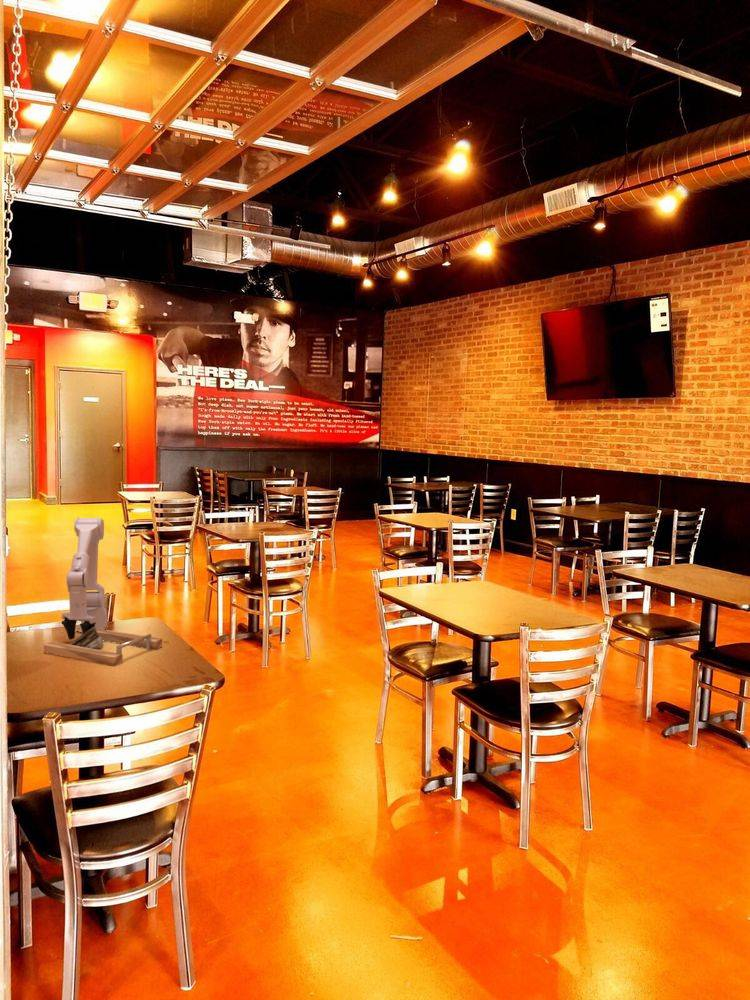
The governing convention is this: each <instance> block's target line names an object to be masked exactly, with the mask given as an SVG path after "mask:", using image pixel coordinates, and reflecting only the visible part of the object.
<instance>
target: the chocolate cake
mask: <svg viewBox="0 0 750 1000" xmlns="http://www.w3.org/2000/svg"><path fill="white" fill-rule="evenodd" d="M95 628H96V627H95V626H94V627H92V628H91V629H89V630H88V631H86V632H85V633H81V635H80V636H78V637H77V638H75V639H74V640H72V641H71V642H69V643H68V645H74V646H80V647H85V648H91V649H96V650H97V649H98V648H99V649H98V650H101V649H102V648H104V641H103V640H102V638H101V636H99V635H98V634H97V631H96V629H95ZM101 647H102V648H101ZM100 648H101V649H100Z"/></svg>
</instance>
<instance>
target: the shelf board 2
mask: <svg viewBox="0 0 750 1000" xmlns="http://www.w3.org/2000/svg"><path fill="white" fill-rule="evenodd" d="M95 629H96V631H97V634H98V635H99V636H101V638H102V640H104V641H103V642H106V641H110V642H109V643H112V642H116V643H115V644H117V643H121V644H124V643H126V642H129V641H132V640H135V639H137V638H140V637H143V636H144V635H140V634H135V633H134V634H133V633H128V632H122V631H116V630H110V629H106V630H105V629H99V628H95ZM151 640H152V649H154V650H153V651H156V650H158V649H161V648H163V638H160V637H159V638H158V637H154V636H151ZM121 644H120V645H121ZM135 646H136V648H141V647H143V648H142V649H146V648H147V639H144V640H142V641H139V642H136V643H134V644H131V647H135ZM160 647H161V648H160ZM157 648H158V649H157ZM152 649H151V650H152ZM155 649H156V650H155Z"/></svg>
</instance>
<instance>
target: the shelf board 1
mask: <svg viewBox="0 0 750 1000" xmlns="http://www.w3.org/2000/svg"><path fill="white" fill-rule="evenodd" d="M68 644H69V643H68ZM68 644H67V643H62V642H57V641H51V642H48V643H47V642H46V643H44V644H43V653H44V652H48V653H53V654H57V655H62V656H67V657H66V658H68V657H71V658H70V659H73V658H77V659H76V660H78V659H82V660H81V661H83V660H86V661H85V662H89V661H92V662H91V663H94V662H96V663H95V664H99V663H100V664H101V665H105V664H106V666H111V667H116V666H117V665H120V664H123V662H124V661H123V653H122V654H119V653H116V652H112V651H107V650H101V649H97V648H96V649H91V648H85V647H80V646H74V645H68ZM57 655H56V656H57ZM62 656H61V657H62Z"/></svg>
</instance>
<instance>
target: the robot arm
mask: <svg viewBox="0 0 750 1000" xmlns="http://www.w3.org/2000/svg"><path fill="white" fill-rule="evenodd" d="M74 532H75V533H76V534H75V535H76V536H77V538H78V542H77V552H76V553H75V554H73V556H72V560H71V566H70V571H69V572H67V575H66V585H67V593H68V595H69V596H68V597H69V612H62V613H61V619H62V620H61V624H62V626H63V627H64V629H65V631H66V634H67V637H68V640H73V639H76V638H75V637H76V631H79V632H78V633H80V632H82V633H81V634H83V633H85V632H86V631H88V630H89V629H91V628H92V627H94V626H95V627H96V628H99V629H103V628H104V627H106V626H107V627H108V612H107V609H106V607H105V603H106V594H105V588H104V587H103V586H102V585H101V584H99V583H98V566H99V565H98V562H99V561H98V560H99V543H100V541H101V540H103V539H104V536H105V522H104V519H103V518H102V517H77V518H76V519H75V520H74ZM77 621H78V622H80V624H79V627H80V629H77V630H76V626H77Z"/></svg>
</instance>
